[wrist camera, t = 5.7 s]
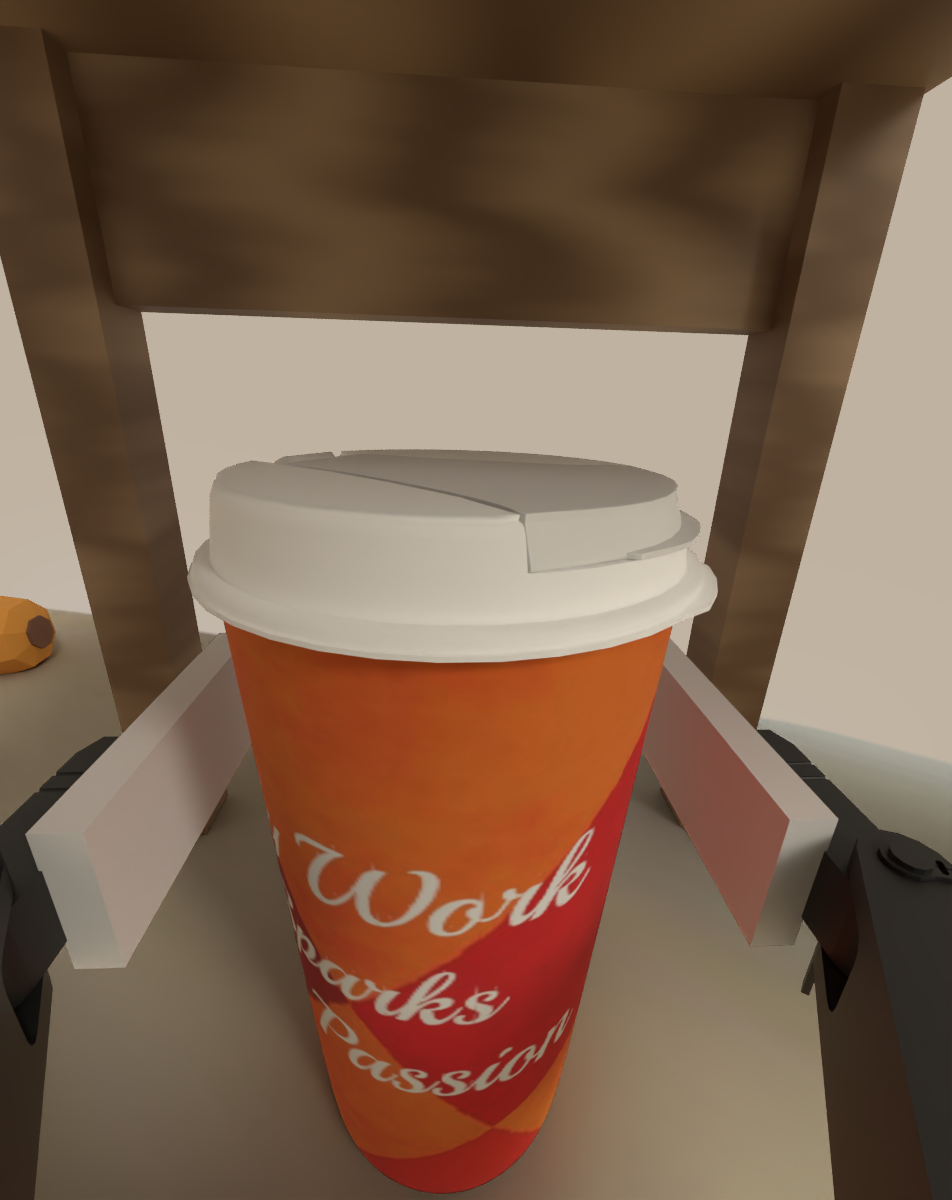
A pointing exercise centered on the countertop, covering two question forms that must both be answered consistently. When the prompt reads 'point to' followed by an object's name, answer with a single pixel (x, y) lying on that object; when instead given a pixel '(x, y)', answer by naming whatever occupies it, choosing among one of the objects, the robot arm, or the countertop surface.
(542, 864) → the paper cup
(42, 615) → the carrot
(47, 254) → the canopy shelf
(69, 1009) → the countertop surface
